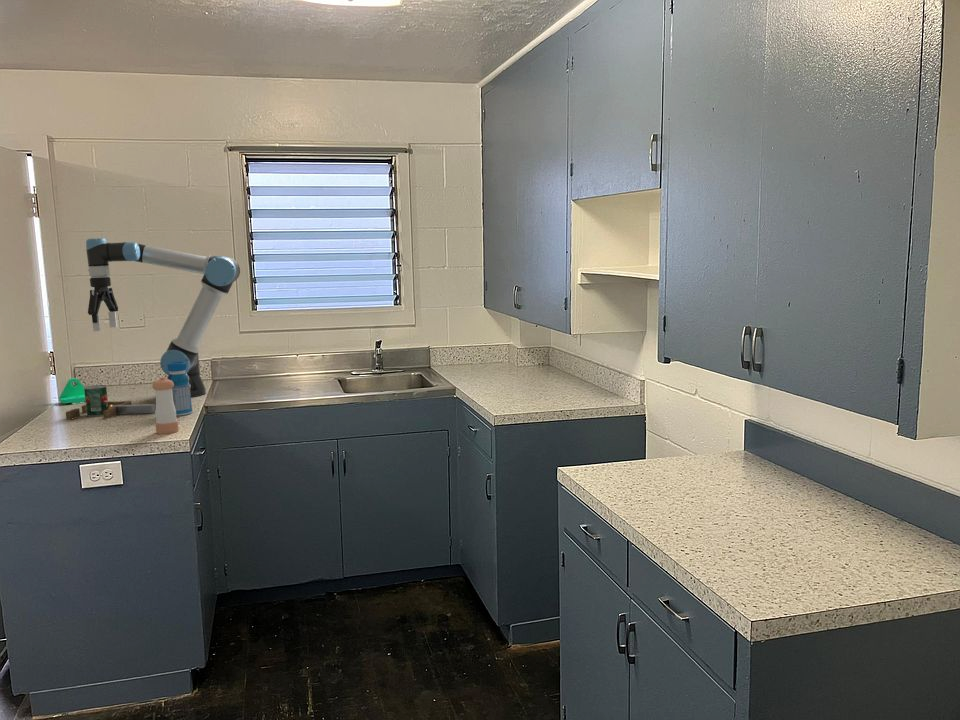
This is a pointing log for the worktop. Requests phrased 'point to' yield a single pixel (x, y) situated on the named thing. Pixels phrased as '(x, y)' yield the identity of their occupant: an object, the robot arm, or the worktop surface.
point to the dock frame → (106, 413)
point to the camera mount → (73, 392)
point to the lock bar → (133, 408)
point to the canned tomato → (96, 400)
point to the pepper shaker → (165, 407)
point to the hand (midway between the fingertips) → (105, 329)
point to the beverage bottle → (180, 388)
